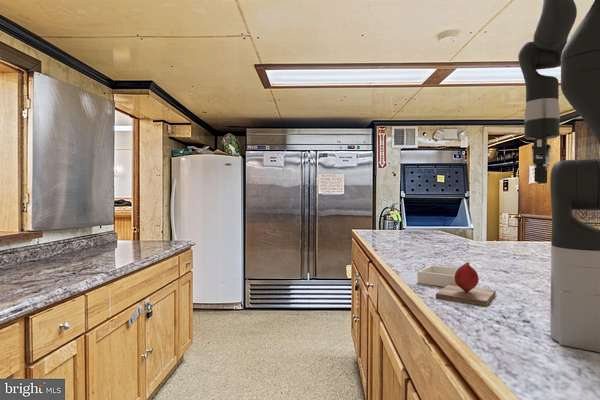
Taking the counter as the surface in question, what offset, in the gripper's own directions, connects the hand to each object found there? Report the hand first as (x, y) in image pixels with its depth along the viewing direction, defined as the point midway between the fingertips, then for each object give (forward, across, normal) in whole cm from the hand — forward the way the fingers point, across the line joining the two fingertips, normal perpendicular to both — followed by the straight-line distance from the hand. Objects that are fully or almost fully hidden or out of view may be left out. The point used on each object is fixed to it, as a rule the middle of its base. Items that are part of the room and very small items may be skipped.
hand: (541, 182), depth 95 cm
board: (+30, -8, +16) cm, 35 cm away
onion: (+29, -8, +16) cm, 34 cm away
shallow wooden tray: (+30, +7, +25) cm, 40 cm away
